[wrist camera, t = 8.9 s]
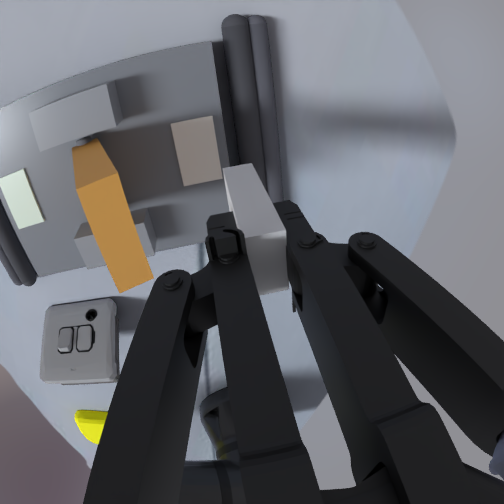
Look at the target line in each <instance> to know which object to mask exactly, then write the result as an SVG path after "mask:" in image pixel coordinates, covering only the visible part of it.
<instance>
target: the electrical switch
mask: <svg viewBox="0 0 504 504" xmlns="http://www.w3.org/2000/svg"><path fill="white" fill-rule="evenodd" d="M116 310H117V305H116V303H115V302H114V301H113V300H112V299H110V298H106V299H99V300H92V301H86V302H79V303H72V304H64V305H57V306H50V307H49V308H48V309H47V310H46V313H45V321H44V329H43V338H42V349H41V361H40V379H41V380H42V381H44V382H45V383H46V384H62V385H78V384H98V383H114V382H118V380H119V377H120V372H119V320H118V318H117V317H116V316H115V315H116Z"/></svg>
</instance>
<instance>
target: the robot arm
mask: <svg viewBox="0 0 504 504" xmlns="http://www.w3.org/2000/svg"><path fill="white" fill-rule="evenodd" d="M223 174H224V180H225V186H226V193H227V199H228V205H229V211H230V212H226V213H220V214H215V215H210V217H209V218H208V220H207V222H206V225H207V234H208V236H207V237H206V239H205V245H206V249H207V253H208V257H209V263H208V264H207V265H206V266H205V267H204V268H203V269H202V270H200V271H198V272H196V273H194V274H192V275H190V274H189V273H188V272H186V271H184V270H178V269H177V270H171V271H168V272H166V273H163V274H162V275H161V276H159V277H158V278H157V280H156V281H155V283H154V285H153V287H152V290H151V292H150V295H149V298H148V300H147V303H146V305H145V308H144V310H143V313H142V316H141V318H140V321H139V323H138V326H137V329H136V332H135V334H134V337H133V340H132V342H131V345H130V348H129V351H128V354H127V356H126V359H125V362H124V365H123V368H122V371H121V374H120V377H119V380H118V383H117V386H116V389H115V392H114V395H113V398H112V401H111V404H110V407H109V411H108V414H107V417H106V420H105V424H104V427H103V430H102V434H101V437H100V440H99V444H98V447H97V451H96V455H95V458H94V462H93V466H92V469H91V473H90V477H89V481H88V485H87V489H86V494H85V498H84V502H83V504H504V481H502V480H500V479H498V478H495V477H493V476H491V475H489V474H487V473H484V472H482V471H480V470H478V469H476V468H474V467H472V466H469V465H467V464H465V463H463V462H462V461H461V459H460V457H459V454H458V452H457V450H456V448H455V446H454V444H453V442H452V440H451V437H450V436H449V433H448V431H447V429H446V427H445V425H444V423H443V421H442V419H441V417H440V415H439V414H438V412H437V411H436V409H435V408H434V407H433V406H432V405H430V403H423V402H421V401H420V400H419V399H418V398H417V396H416V394H415V393H414V391H413V389H412V387H411V385H410V383H409V381H408V379H407V377H406V375H405V373H404V371H403V370H402V368H401V366H400V364H399V362H398V360H397V358H396V357H395V355H396V356H397V357H398V358H399V359H400V361H401V362H402V363H403V364H404V365H405V366H406V367H407V368H408V369H409V371H410V372H411V373H412V374H413V375H414V376H415V377H416V378H417V379H418V380H419V382H420V383H421V384H422V385H423V386H424V387H425V388H426V390H427V391H428V392H429V393H430V394H431V395H432V396H433V397H434V399H435V400H436V401H437V402H438V403H439V404H440V405H441V407H442V408H443V409H444V410H445V411H446V412H447V414H448V415H449V416H450V417H451V418H452V419H453V421H454V422H455V423H456V424H457V425H458V426H459V428H460V429H461V430H462V431H463V432H464V433H465V435H466V436H467V437H468V438H469V439H470V440H471V441H472V442H473V443H474V444H475V445H477V446H478V447H479V448H480V449H481V450H483V451H484V452H485V453H487V454H489V455H490V456H492V457H493V459H492V460H491V461H490V464H489V470H490V472H491V473H492V474H494V475H500V476H501V477H502V478H503V479H504V342H503V340H502V339H500V337H499V336H497V335H496V334H495V333H494V332H493V331H492V330H491V329H490V328H489V327H488V326H487V325H486V324H485V323H483V322H482V321H481V320H480V319H479V318H478V317H477V316H476V315H475V314H474V313H472V312H471V311H470V310H469V309H468V308H467V307H466V306H464V305H463V304H462V303H461V302H460V301H459V300H458V299H457V298H455V297H454V296H453V295H452V294H450V293H449V292H448V291H447V290H446V289H445V288H444V287H442V286H441V285H440V284H439V283H438V282H436V281H435V280H434V279H432V277H430V276H429V275H428V274H427V273H426V272H424V271H423V270H422V269H421V268H419V267H418V266H417V265H416V264H414V263H413V262H412V261H411V260H409V259H408V258H407V257H406V256H404V255H403V254H402V253H401V252H399V251H398V250H397V249H395V248H394V247H393V246H391V245H390V244H389V243H388V242H386V241H385V240H384V239H382V238H381V237H380V236H378V235H376V234H373V233H369V232H360V233H355V234H354V235H352V236H351V237H350V239H349V242H348V244H336V243H329V242H328V241H327V240H326V238H325V237H324V236H323V235H321V234H319V233H316V232H314V231H313V229H312V228H311V226H310V225H309V223H308V221H307V220H306V218H305V217H304V215H303V213H302V212H301V210H300V209H299V207H298V205H297V204H295V203H293V202H291V201H290V200H287V201H282V202H276V203H272V201H271V200H270V198H269V196H268V194H267V192H266V190H265V188H264V186H263V184H262V182H261V180H260V178H259V176H258V174H257V172H256V170H255V169H254V167H253V165H252V163H249V164H243V165H237V166H232V167H226V168H223ZM289 282H290V284H291V287H292V305H293V312H296V309H297V311H298V314H299V317H300V319H301V322H302V325H303V327H304V330H305V332H306V335H307V338H308V340H309V343H310V346H311V348H312V351H313V354H314V356H315V359H316V362H317V364H318V367H319V370H320V372H321V375H322V378H323V381H324V383H325V386H326V389H327V391H328V394H329V397H330V400H331V402H332V405H333V408H334V410H335V413H336V416H337V418H338V422H339V424H340V427H341V430H342V433H343V435H344V438H345V441H346V444H347V447H348V449H349V453H350V457H351V468H352V473H353V476H354V479H355V482H356V486H355V487H352V488H346V489H333V490H320V489H319V486H318V483H317V479H316V476H315V473H314V469H313V466H312V463H311V460H310V457H309V454H308V452H307V449H306V447H305V446H304V444H303V442H302V440H301V437H300V433H299V430H298V427H297V423H296V420H295V417H294V413H293V410H292V406H291V403H290V400H289V396H288V393H287V389H286V386H285V383H284V379H283V376H282V372H281V369H280V365H279V362H278V359H277V355H276V352H275V348H274V345H273V341H272V338H271V335H270V331H269V328H268V324H267V321H266V317H265V314H264V310H263V307H262V304H261V300H260V297H259V296H260V295H265V294H269V293H274V292H279V291H284V290H288V289H289ZM378 284H379V285H380V286H381V287H382V288H383V289H382V288H380V287H379V286H378ZM215 325H218V328H219V335H220V342H221V348H222V355H223V361H224V368H225V374H226V380H227V386H228V388H226V389H223V390H220V391H218V392H215V393H213V394H212V395H210V396H208V397H207V398H206V399H205V400H204V401H203V402H202V403H201V405H200V417H201V422H202V424H203V426H204V428H205V430H206V432H207V434H208V436H209V438H210V440H211V442H212V444H213V446H214V448H215V450H216V456H217V460H212V461H211V460H207V461H185V457H186V451H187V445H188V439H189V434H190V428H191V422H192V416H193V410H194V405H195V399H196V394H197V388H198V382H199V377H200V372H201V366H202V361H203V355H204V350H205V345H206V340H207V334H208V329H209V328H211V327H213V326H215ZM394 354H395V355H394Z"/></svg>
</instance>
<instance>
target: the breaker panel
mask: <svg viewBox="0 0 504 504" xmlns="http://www.w3.org/2000/svg"><path fill="white" fill-rule="evenodd" d="M86 136H91V138H92V140H93V139H95V138H98V140H99V142H100V143H101V145H102V147H103V148H104V150H105V152H106V154H107V155H108V157H109V159H110V160H111V162H112V164H113V165H114V167H115V169H116V170H117V172H118V175H119V178H120V181H121V184H122V188H123V191H124V194H125V197H126V200H127V203H128V207H129V210H130V213H131V216H132V219H133V222H134V225H135V227H136V230H137V233H138V236H139V239H140V242H141V245H142V247H143V250H144V253H145V256H146V257H149V256H154V255H155V252H158V251H163V250H168V249H173V248H178V247H183V246H188V245H193V244H198V243H203V242H205V239H206V237H207V236H208V234H207V225H206V222H207V220H208V218H209V217H210V215H215V214H220V213H226V212H230V211H229V205H228V199H227V193H226V186H225V180H224V174H223V168H226V167H230V164H229V157H228V150H227V144H226V137H225V131H224V124H223V117H222V110H221V104H220V97H219V90H218V83H217V77H216V70H215V63H214V56H213V49H212V42H211V41H208V42H202V43H196V44H190V45H185V46H180V47H175V48H170V49H165V50H161V51H156V52H152V53H148V54H144V55H140V56H136V57H133V58H129V59H125V60H122V61H118V62H115V63H112V64H108V65H105V66H102V67H99V68H96V69H93V70H90V71H87V72H84V73H81V74H79V75H76V76H73V77H71V78H68V79H65V80H63V81H60V82H58V83H55V84H53V85H50V86H48V87H46V88H43V89H41V90H39V91H36V92H34V93H32V94H30V95H27V96H25V97H23V98H21V99H19V100H17V101H15V102H13V103H11V104H9V105H7V106H5V107H3V108H1V109H0V199H1V201H2V204H3V206H4V208H5V211H6V213H7V215H8V217H9V219H10V222H11V224H12V226H13V228H14V230H15V232H16V234H17V236H18V238H19V240H20V242H21V244H22V246H23V248H24V250H25V252H26V254H27V256H28V258H29V260H30V262H31V263H32V265H33V267H34V269H35V271H36V272H37V274H38V276H39V277H41V276H46V275H50V274H55V273H59V272H64V271H68V270H73V269H78V268H82V267H87V269H91V268H96V267H101V266H105V265H106V263H105V260H104V258H103V256H102V254H101V251H100V249H99V247H98V244H97V242H96V240H95V237H94V235H93V232H92V230H91V227H90V225H89V223H88V220H87V217H86V215H85V212H84V210H83V207H82V204H81V202H80V199H79V196H78V194H77V191H76V185H75V177H74V168H73V157H72V147H75V146H77V145H76V141H77V140H79V139H81V138H83V137H86Z"/></svg>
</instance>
